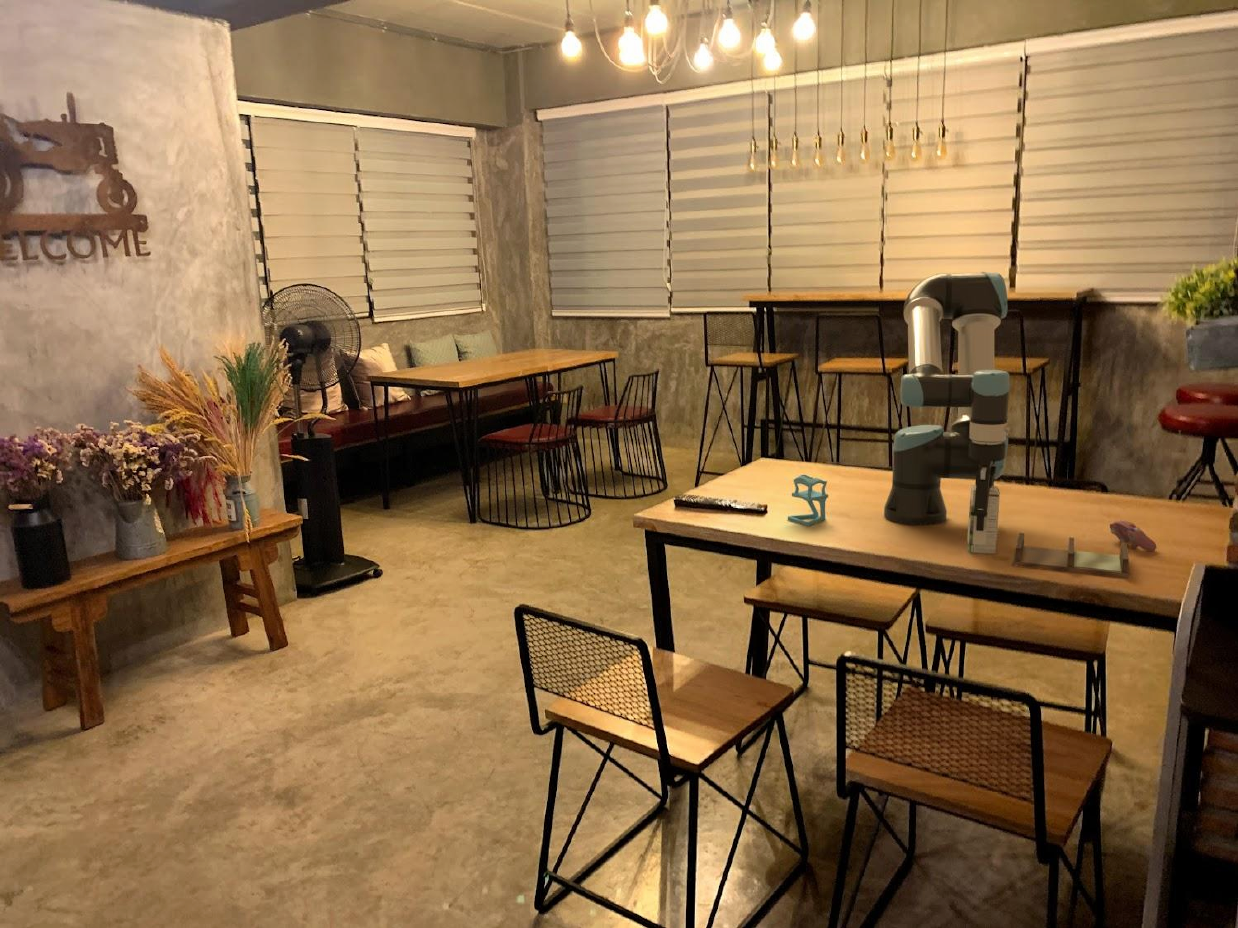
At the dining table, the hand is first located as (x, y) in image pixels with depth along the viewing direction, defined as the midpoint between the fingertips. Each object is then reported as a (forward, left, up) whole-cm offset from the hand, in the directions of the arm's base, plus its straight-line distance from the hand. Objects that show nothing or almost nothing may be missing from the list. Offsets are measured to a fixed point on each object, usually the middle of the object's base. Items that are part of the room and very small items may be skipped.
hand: (982, 536), depth 205 cm
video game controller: (+30, +15, -3) cm, 34 cm away
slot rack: (+18, -3, -3) cm, 19 cm away
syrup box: (0, 0, -3) cm, 3 cm away
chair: (-42, +10, -3) cm, 43 cm away
